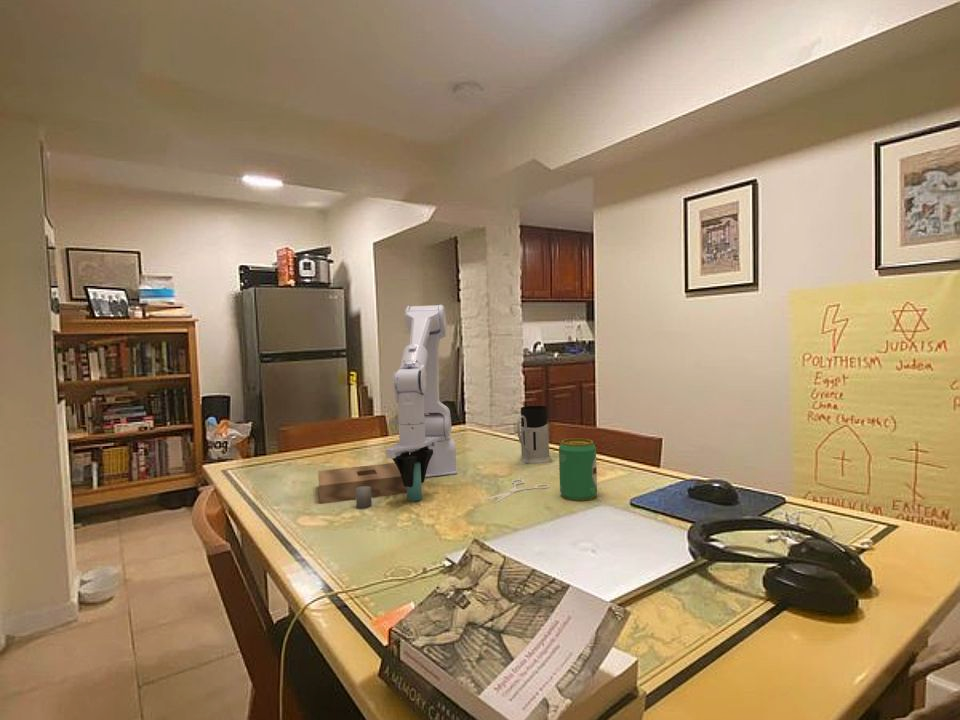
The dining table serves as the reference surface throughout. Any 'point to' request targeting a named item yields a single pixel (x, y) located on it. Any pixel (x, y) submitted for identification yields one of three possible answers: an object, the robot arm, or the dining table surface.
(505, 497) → the scissors
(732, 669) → the dining table surface
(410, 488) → the teal pin
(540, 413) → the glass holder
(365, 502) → the charcoal stub
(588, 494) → the beverage can
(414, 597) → the dining table surface
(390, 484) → the walnut hole block
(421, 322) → the robot arm
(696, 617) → the dining table surface
